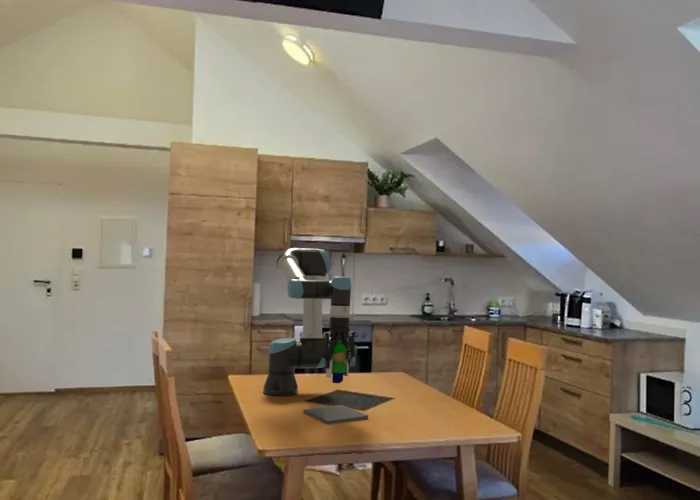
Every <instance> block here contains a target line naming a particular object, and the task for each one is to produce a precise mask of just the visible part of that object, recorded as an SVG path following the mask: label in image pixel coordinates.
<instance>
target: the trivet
mask: <svg viewBox="0 0 700 500" xmlns="http://www.w3.org/2000/svg"><path fill="white" fill-rule="evenodd" d="M302 412H303V414H306V415H308V416H309V417H312V418H314V419H315V420H318V421H320V422H322V423H325V424H326V425H333V424H334V425H335V424H339V423H347V422H348V423H349V422H355V421H361V420H367V419H369V415H368V414H365V413H363V412H360V411H358V410H356V409H354V408H351V407H348V406H346V405H344V404H338V405H337V404H336V405H329V406H322V407H312V408H304V409H302Z"/></svg>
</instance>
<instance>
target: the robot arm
mask: <svg viewBox="0 0 700 500" xmlns="http://www.w3.org/2000/svg"><path fill="white" fill-rule="evenodd" d="M275 265H276V269H277V270H278V272H279V273H280V274H281V275H283V276H284V278H285V279H286V281H287V287H286V290H287V295H288V297H289V298H291V299H297V300H299V299H300V300H301V299H302V300H303V302H302V303H303V304H302V305H303V306H302V307H303V308H302V309H303V310H302V313H303V315H302V317H303V318H302V326H303V328H302V335H301V336H300V337H299V341H297V339H296V338H293V337H292V338H290V337H289V338H288V337H283V338H278V339H274V340H272V341H271V342H270V344H269V346H268V347H269V350H268V365H267V366H268V367H267V368H268V370H267V371H268V372H267V377H266V379H265V381H264V385H263V387H262V388H263V389H262V390H263V391H262V392H263V393H264V394H266V395H270V396H277V397H278V396H279V397H287V396H295V395H297V394H298V393H299V390H298V389H299V388H298V387H299V386H298V383H297V380H296V375H295V371H296V369H319V368H324V369H326V371H325V372H326V373H325V374H326V375H325V377H326V378H330V379H332V377H333V374H332V362H333V359H332V353H333V351H334V348H335V345H336V344H337V343H338V342H340V343H342V344H343V345H344V346H345V347H346V349H349V350H347V352H349V351H350V350H351V360H352V359H353V358H355V357H356V346H355V336H356V332H355V331H352V330H350V329H349V327H350V317H349V316H350V312H351V311H350V310H351V291H352V279H351V277H349V276H342V275H341V276H336V275H335V276H333V277H331V279H326V278H327V276H326V275H329V273H330V268H331V263H330V257H329V253H327V250H325V249H322V248H309V247H308V248H307V247H304V248H302V247H290V248H287V249H285V250H283V251H282V252H281V253H279V255H278V256H277V259H276V264H275ZM323 300H330V313H329V315H330V318H329V330H328V331H323ZM344 363H345V366H346V371H347V373H346V374H343V377H344V376H345V377H349V372H350V371H349V368H350V367H351V362H349V363H348V356H347V359H346V360H345V361H344Z"/></svg>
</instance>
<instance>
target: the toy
mask: <svg viewBox="0 0 700 500" xmlns="http://www.w3.org/2000/svg"><path fill="white" fill-rule="evenodd" d="M347 350H349V349H346V347H345V346H344V345H343V344H342V343H341V342H340V341H338V342H337V344H336V345H335V348H334V351H333V353H332V357H331V360H332V378H331V379H332V381H331V383H332V384H341V383H342V382H344V375H343V374H346V373H347V371H346V366H345V363H344V361H345V360H346V359H347V356H348V363H349V362H350V363H351V362H352V359H351V350H350V351H349V352H347Z"/></svg>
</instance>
